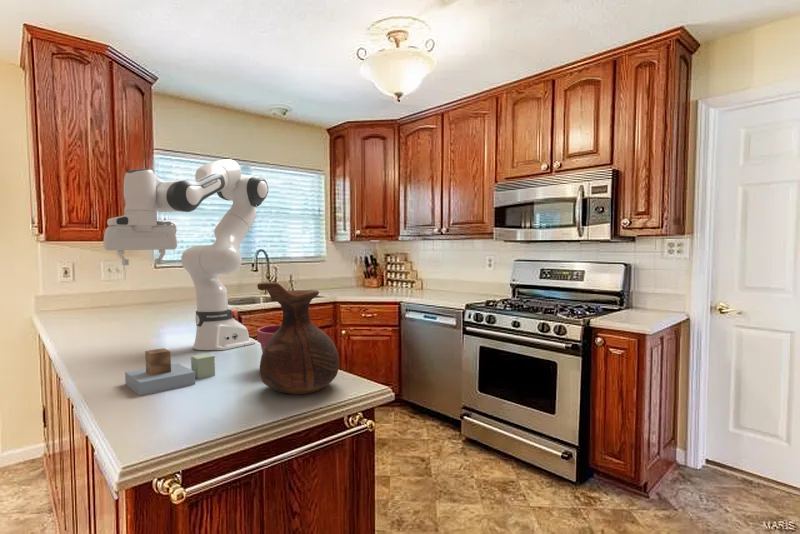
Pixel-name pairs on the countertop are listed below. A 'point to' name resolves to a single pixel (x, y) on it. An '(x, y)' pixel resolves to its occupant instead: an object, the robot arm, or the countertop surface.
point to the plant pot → (266, 334)
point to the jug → (297, 346)
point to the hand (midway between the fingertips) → (142, 264)
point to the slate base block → (159, 380)
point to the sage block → (203, 365)
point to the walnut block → (158, 361)
